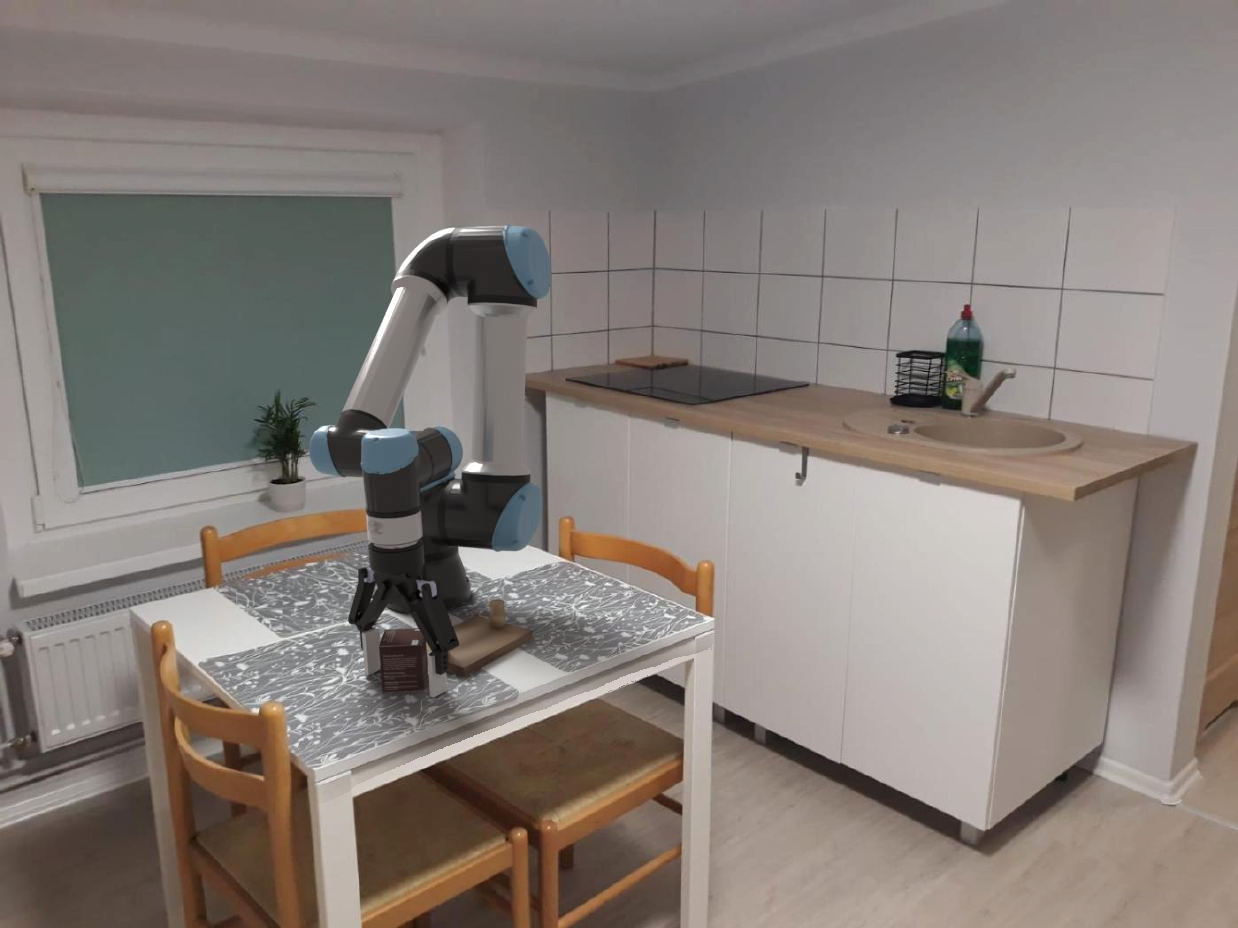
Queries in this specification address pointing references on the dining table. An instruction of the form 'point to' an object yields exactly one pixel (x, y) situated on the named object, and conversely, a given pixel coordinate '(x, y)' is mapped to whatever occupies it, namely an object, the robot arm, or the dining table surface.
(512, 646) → the rack board
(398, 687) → the box
